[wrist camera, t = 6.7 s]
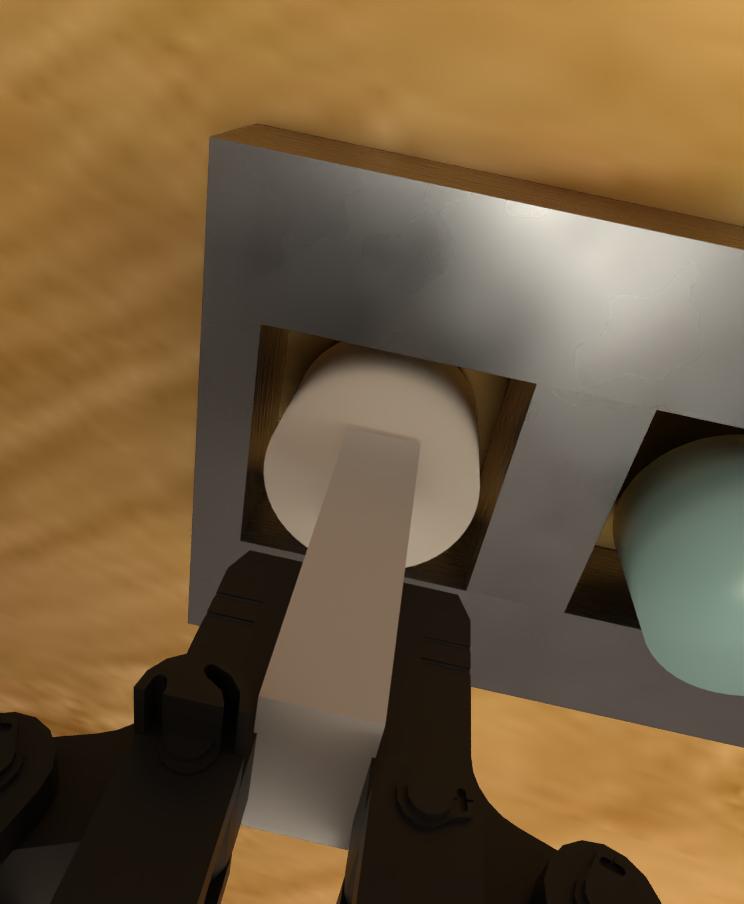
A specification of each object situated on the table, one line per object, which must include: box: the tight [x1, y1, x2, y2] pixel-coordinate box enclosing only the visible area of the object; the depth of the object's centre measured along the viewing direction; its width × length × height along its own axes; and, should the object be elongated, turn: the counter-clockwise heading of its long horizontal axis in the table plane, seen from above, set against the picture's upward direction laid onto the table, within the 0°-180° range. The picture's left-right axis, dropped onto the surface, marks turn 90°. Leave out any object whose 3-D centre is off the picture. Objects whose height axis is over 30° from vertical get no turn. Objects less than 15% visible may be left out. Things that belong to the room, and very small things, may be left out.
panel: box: [188, 124, 744, 748], centre depth 16 cm, size 24×12×3 cm, turn 80°
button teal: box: [613, 434, 744, 696], centre depth 14 cm, size 5×5×3 cm
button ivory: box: [264, 342, 480, 568], centre depth 15 cm, size 5×5×3 cm
